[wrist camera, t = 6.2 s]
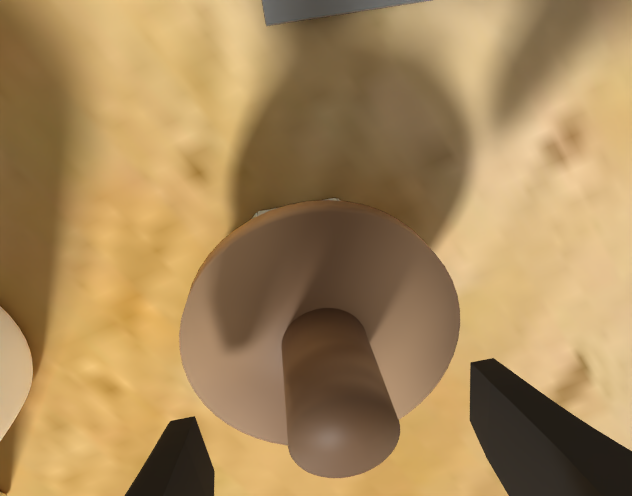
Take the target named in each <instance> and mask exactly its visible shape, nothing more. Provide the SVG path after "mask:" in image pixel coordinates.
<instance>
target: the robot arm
mask: <svg viewBox="0 0 632 496" xmlns="http://www.w3.org/2000/svg"><path fill="white" fill-rule="evenodd" d="M470 422H471V424H472V426H473V428H474V431H475V433H476V435H477V438H478V440H479V442H480V444H481V446H482V449H483V451H484V453H485V455H486V457H487V459H488V461H489V463H490V464H491V466H492V468H493V469H494V471H495V473H496V475H497V476H498V478H499V480H500V481H501V483H502V485H503V486H504V488H505V490H506V492H507V493H508V495H509V496H632V451H630V450H629V449H627V448H625V447H624V446H622V445H620V444H618V443H617V442H615V441H614V440H612V439H610V438H609V437H607V436H606V435H604V434H602V433H601V432H599V431H597V430H596V429H594V428H593V427H591V426H589V425H588V424H586V423H585V422H583V421H582V420H580V419H579V418H577V417H576V416H574V415H573V414H571V413H570V412H568V411H567V410H565V409H564V408H562V407H561V406H559V405H558V404H557V403H555V402H554V401H552V400H551V399H549V398H548V397H546V396H545V395H544V394H542V393H541V392H539V391H538V390H537V389H535V388H534V387H532V386H531V385H530V384H528V383H527V382H526V381H524V380H523V379H521V378H520V377H519V376H517V375H516V374H514V373H513V372H512V371H510V370H509V369H508V368H506V367H505V366H503V365H502V364H501V363H499V362H498V361H497V360H495V359H494V358H492V359H487V360H481V361H476V362H471V369H470ZM125 496H214V469H213V466H212V463H211V460H210V457H209V455H208V452H207V449H206V446H205V443H204V441H203V438H202V435H201V432H200V430H199V427H198V424H197V421H196V418H195V416H194V417H189V418H184V419H178V420H173V421H170V423H169V424H168V425H167V427H166V429H165V430H164V432H163V434H162V435H161V437H160V439H159V441H158V442H157V444H156V446H155V447H154V449H153V451H152V452H151V454H150V456H149V457H148V459H147V461H146V462H145V464H144V466H143V467H142V469H141V471H140V472H139V474H138V475H137V477H136V479H135V480H134V482H133V483H132V485H131V486H130V488H129V490H128V491H127V493H126V494H125Z"/></svg>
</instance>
